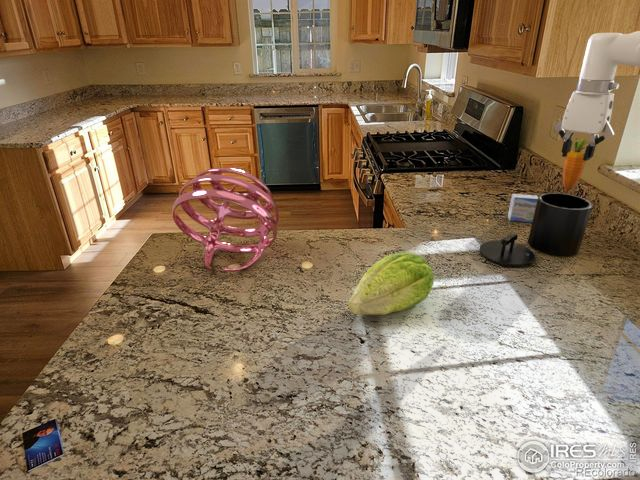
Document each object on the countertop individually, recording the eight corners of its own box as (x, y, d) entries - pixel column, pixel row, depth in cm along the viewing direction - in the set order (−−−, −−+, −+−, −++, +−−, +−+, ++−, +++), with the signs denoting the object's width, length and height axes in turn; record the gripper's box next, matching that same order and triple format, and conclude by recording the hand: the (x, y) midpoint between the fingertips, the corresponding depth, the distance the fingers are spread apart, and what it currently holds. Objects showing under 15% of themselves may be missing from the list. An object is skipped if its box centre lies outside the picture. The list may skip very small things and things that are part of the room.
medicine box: (509, 221, 144) (514, 197, 140) (507, 216, 148) (512, 192, 144) (534, 223, 142) (540, 199, 138) (531, 218, 146) (537, 194, 142)
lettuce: (326, 283, 98) (355, 278, 86) (396, 248, 108) (431, 240, 96) (348, 334, 98) (380, 337, 86) (416, 295, 108) (454, 292, 96)
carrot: (558, 187, 122) (571, 135, 116) (577, 190, 120) (592, 137, 114) (556, 192, 119) (569, 138, 112) (576, 195, 116) (591, 140, 110)
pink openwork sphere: (229, 231, 91) (255, 137, 105) (132, 242, 102) (167, 155, 116) (286, 285, 113) (302, 202, 126) (201, 289, 124) (224, 212, 137)
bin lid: (543, 256, 121) (548, 237, 118) (518, 273, 113) (522, 254, 110) (495, 239, 131) (499, 221, 129) (468, 254, 123) (471, 235, 120)
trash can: (586, 247, 126) (599, 201, 120) (566, 261, 118) (580, 213, 112) (540, 232, 136) (550, 189, 129) (519, 245, 128) (529, 199, 121)
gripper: (638, 88, 104) (616, 161, 112) (565, 83, 115) (550, 149, 123) (627, 91, 99) (605, 167, 107) (553, 85, 111) (538, 154, 119)
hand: (576, 157), depth 115 cm, fingers closed on carrot, 4 cm apart
